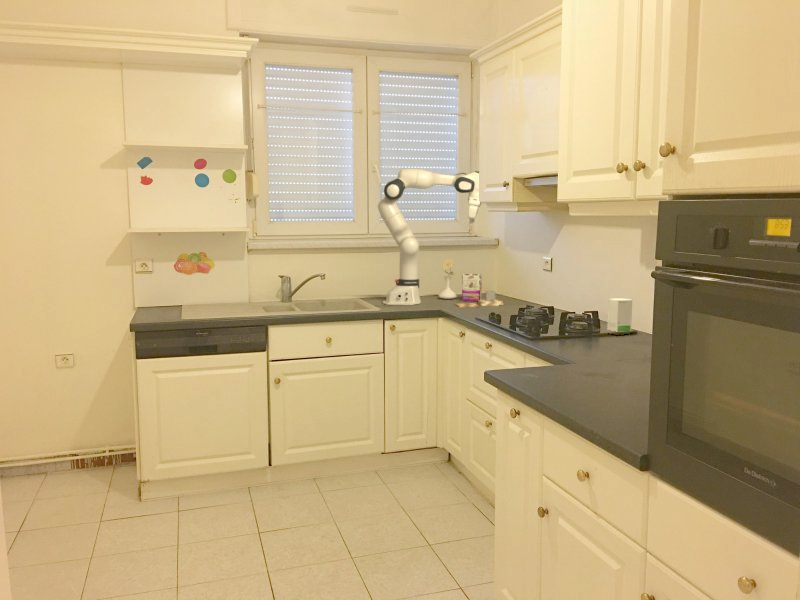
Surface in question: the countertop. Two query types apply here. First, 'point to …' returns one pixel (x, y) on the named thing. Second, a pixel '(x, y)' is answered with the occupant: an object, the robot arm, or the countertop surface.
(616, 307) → the skincare box
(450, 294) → the flower in vase
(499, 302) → the birch box
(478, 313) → the countertop surface
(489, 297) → the grey block
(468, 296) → the candy bar box
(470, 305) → the cork mat
